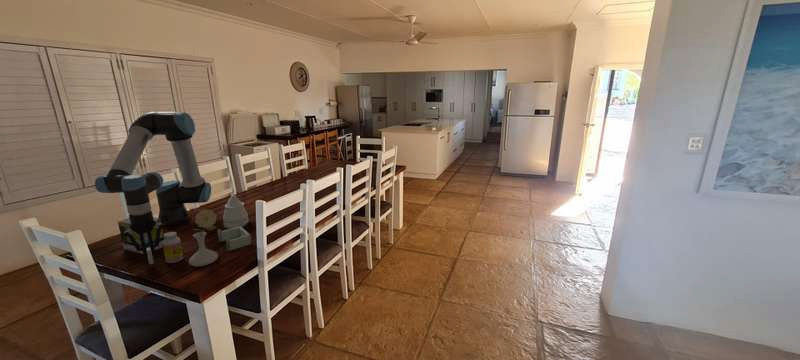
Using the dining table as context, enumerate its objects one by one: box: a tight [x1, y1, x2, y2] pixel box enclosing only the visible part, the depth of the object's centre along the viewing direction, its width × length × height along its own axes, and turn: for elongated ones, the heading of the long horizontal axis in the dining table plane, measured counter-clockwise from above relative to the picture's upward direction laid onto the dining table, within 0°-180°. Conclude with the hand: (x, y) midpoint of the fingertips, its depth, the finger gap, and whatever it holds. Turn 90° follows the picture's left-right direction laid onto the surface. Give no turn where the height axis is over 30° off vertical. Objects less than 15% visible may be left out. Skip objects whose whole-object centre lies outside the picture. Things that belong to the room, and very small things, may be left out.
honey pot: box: [222, 194, 250, 229], centre depth 178 cm, size 13×13×18 cm
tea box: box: [117, 216, 165, 255], centre depth 149 cm, size 15×10×15 cm, turn 71°
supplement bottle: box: [162, 231, 184, 264], centre depth 140 cm, size 7×7×13 cm
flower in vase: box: [188, 209, 219, 267], centre depth 137 cm, size 13×11×25 cm
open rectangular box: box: [217, 226, 252, 252], centre depth 158 cm, size 14×11×6 cm
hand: (151, 262), depth 135 cm, fingers closed
